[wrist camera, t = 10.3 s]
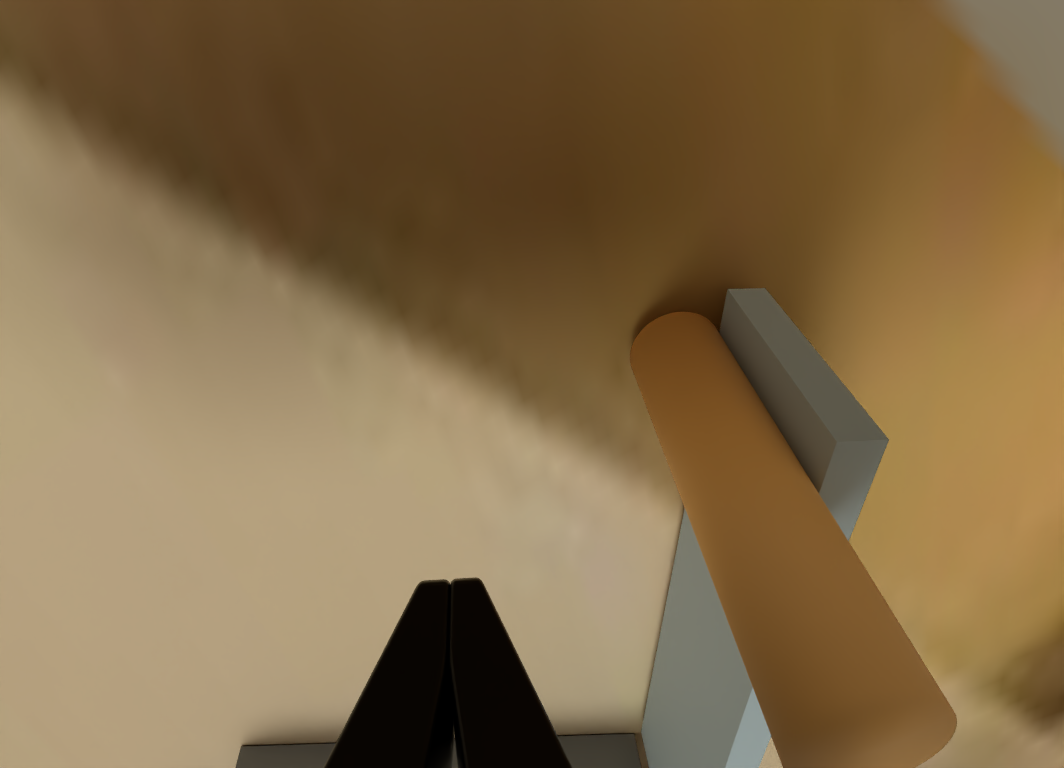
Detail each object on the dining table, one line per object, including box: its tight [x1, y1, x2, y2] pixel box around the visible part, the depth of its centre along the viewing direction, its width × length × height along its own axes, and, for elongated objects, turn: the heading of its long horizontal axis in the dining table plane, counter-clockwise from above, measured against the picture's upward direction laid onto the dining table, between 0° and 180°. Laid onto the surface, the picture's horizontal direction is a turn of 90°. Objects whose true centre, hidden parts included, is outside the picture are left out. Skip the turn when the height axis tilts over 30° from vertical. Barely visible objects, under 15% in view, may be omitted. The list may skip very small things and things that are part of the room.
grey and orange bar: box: [630, 288, 957, 768], centre depth 15 cm, size 17×3×9 cm, turn 179°
